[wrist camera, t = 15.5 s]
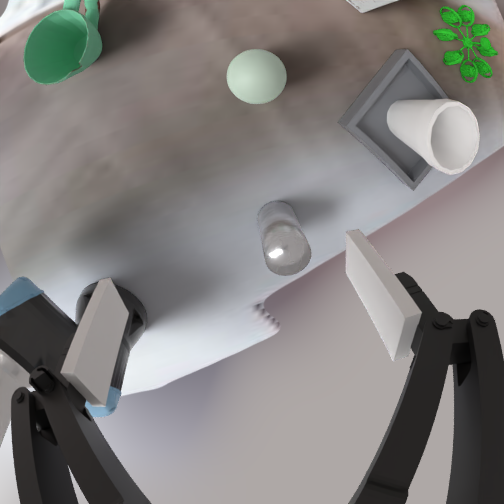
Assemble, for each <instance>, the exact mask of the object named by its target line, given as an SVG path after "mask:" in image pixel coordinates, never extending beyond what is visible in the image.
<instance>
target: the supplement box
mask: <svg viewBox="0 0 504 504" xmlns="http://www.w3.org/2000/svg"><path fill="white" fill-rule="evenodd" d="M346 1H347V2H349V3H350V4H351V5H352V6H354V7H355V8H356V9H357V10H358V11H360V12H361V13H365V12H367V11H370V10H373V9H375V8H378V7H381V6H384V5H386V4H389V3H392V2H395V1H398V0H346Z"/></svg>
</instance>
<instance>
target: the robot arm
mask: <svg viewBox="0 0 504 504" xmlns="http://www.w3.org/2000/svg"><path fill="white" fill-rule="evenodd" d="M346 274H347V276H348V278H349V280H350V281H351V283H352V285H353V287H354V288H355V290H356V292H357V294H358V296H359V297H360V299H361V301H362V303H363V305H364V306H365V308H366V310H367V311H368V314H369V316H370V318H371V320H372V321H373V323H374V325H375V327H376V329H377V331H378V333H379V335H380V337H381V338H382V340H383V342H384V344H385V346H386V348H387V350H388V352H389V354H390V356H391V358H392V360H393V361H396V360H399V359H402V358H405V357H407V356H408V355H409V352H410V349H412V351H413V352H414V354H415V355H414V358H413V361H412V363H411V366H410V371H409V373H408V376H407V380H406V383H405V385H404V388H403V391H402V394H401V396H400V399H399V402H398V404H397V407H396V409H395V412H394V415H393V417H392V419H391V422H390V424H389V426H388V429H387V431H386V433H385V435H384V438H383V440H382V442H381V444H380V447H379V449H378V451H377V453H376V455H375V457H374V459H373V461H372V463H371V465H370V467H369V469H368V471H367V472H366V475H365V476H364V478H363V480H362V482H361V484H360V485H359V487H358V489H357V491H356V492H355V494H354V496H353V497H352V499H351V500H350V502H349V503H348V504H405V503H406V500H407V497H408V489H409V486H410V484H411V481H412V479H413V477H414V475H415V472H416V470H417V467H418V465H419V462H420V460H421V457H422V455H423V452H424V449H425V447H426V444H427V441H428V438H429V435H430V432H431V429H432V426H433V423H434V420H435V416H436V413H437V410H438V406H439V403H440V399H441V395H442V391H443V387H444V383H445V379H446V374H447V370H448V365H452V364H453V376H454V377H453V378H454V439H453V454H452V465H451V475H450V482H449V490H448V496H447V501H446V504H504V359H503V354H502V349H501V344H500V340H499V336H498V331H497V327H496V323H495V320H494V318H493V316H492V315H491V314H490V313H489V312H487V311H485V310H475V311H473V312H472V313H471V315H470V317H469V319H457V320H455V319H453V318H452V317H450V316H449V315H448V314H446V313H444V312H438V311H437V309H436V308H435V307H434V305H433V304H432V303H431V301H430V300H429V298H428V297H427V296H426V294H425V293H424V292H422V289H421V288H420V287H419V286H418V284H417V283H416V282H415V280H414V279H413V278H412V277H411V276H409V275H408V274H406V273H405V272H402V273H398V274H394V273H393V272H392V271H391V269H390V268H389V266H388V265H387V264H386V263H385V261H384V260H383V259H382V258H381V256H380V255H379V254H378V252H377V251H376V250H375V248H374V247H373V246H372V245H371V244H370V242H369V241H368V240H367V238H366V237H365V236H364V235H363V234H362V232H361V231H360V230H359V229H357V230H352V231H347V232H346ZM146 322H147V315H146V311H145V309H144V307H143V305H142V304H141V302H140V301H139V300H138V299H137V298H136V297H135V296H134V295H133V294H131V293H130V292H129V291H127V290H125V289H123V288H121V287H119V286H116V285H114V284H113V282H112V280H111V278H106V279H101V280H99V282H98V283H95V284H92V285H89V286H87V287H86V288H85V289H84V290H83V291H82V293H81V295H80V297H79V299H78V301H77V304H76V317H75V322H74V321H73V320H72V319H71V318H69V317H68V316H67V315H66V314H65V313H64V312H63V311H62V310H61V309H60V308H59V307H58V306H57V305H56V304H55V303H54V302H53V301H52V300H51V299H50V298H49V297H48V296H47V295H46V294H45V293H44V291H43V290H40V289H39V288H38V287H37V286H36V285H35V284H34V283H33V282H32V281H31V280H30V279H28V278H27V277H19V278H17V279H16V280H15V281H14V282H13V283H12V284H11V285H10V286H9V287H8V288H7V289H6V290H5V291H4V292H3V293H2V294H1V295H0V446H1V444H2V441H3V438H4V436H5V433H6V430H7V428H8V425H9V423H10V421H11V430H12V445H13V458H14V467H15V475H16V481H17V488H18V493H19V499H20V504H78V501H77V497H76V494H75V490H74V487H73V484H72V480H71V476H70V472H69V468H70V470H71V472H72V474H73V476H74V478H75V480H76V481H77V483H78V485H79V487H80V489H81V491H82V492H83V494H84V496H85V498H86V499H87V501H88V503H89V504H151V503H150V501H149V500H148V499H147V498H146V496H145V495H144V494H143V493H142V492H141V490H140V489H139V487H138V486H137V485H136V483H135V482H134V481H133V480H132V478H131V477H130V476H129V474H128V473H127V471H126V470H125V469H124V467H123V465H122V464H121V463H120V461H119V460H118V459H117V457H116V455H115V454H114V452H113V451H112V449H111V448H110V446H109V444H108V443H107V441H106V440H105V438H104V436H103V435H102V433H101V431H100V430H99V428H98V426H97V424H96V423H95V421H94V419H93V417H104V416H108V415H110V414H112V413H113V412H114V411H115V410H116V407H117V404H118V401H119V398H120V396H121V388H122V384H123V379H124V375H125V370H126V366H127V362H128V357H129V353H130V350H131V349H132V348H133V346H134V345H135V344H136V342H137V341H138V340H139V338H140V337H141V336H142V334H143V332H144V330H145V326H146ZM31 387H33V388H34V389H35V390H36V391H33V392H30V391H29V390H28V389H27V388H31ZM68 466H69V468H68Z"/></svg>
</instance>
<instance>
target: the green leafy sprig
mask: <svg viewBox="0 0 504 504" xmlns="http://www.w3.org/2000/svg"><path fill="white" fill-rule="evenodd" d="M464 7H468V6H466V5H462V6H460V7H459V9H458V12H457V13H456V12H455V11H454V10H453V9H451V8H449V7H442V8H441V9H440V14H441V16H442V19H443V21H444V22H446V23H447V24H449V25H450V26H452V27H454V28H458V29H459V27H460V26H461V25H463V26H466V30H467V37H465V36H464V35H463V33H462V32H461V30H460V29H459V31H460V32H461V34H462V35H463V37H464V38H463V40H461V39H458V35H457V34H454V33H453V32H452V31H451V30H450V29H438V30H434V31H433V33H434V35H437V37H438V38H439V39H440V40H441V41H450V40H453V39H457V40H460V41H463V45H464V46H463V47H462V49H461V50H460V51H459V50H457V51H453V52H452V51H447V52H446V53H445V54H444V59H443V62H444V63H445V64H446V65H454V64H458V63H461V62H462V59H463V58H464V54H463V52H462V50H463V49H464V48H465V47H466V48H467V49H468V60H464V61H463V62H462V64H461V67H460V72H461V75H462V78H463V79H464V80H465V81H466V82H469V83H473V82H474V81H475V80H476V79H477V76H478V73H480V74H481V75H482V76H484V77H486V78H490V77H491V76H492V69H491V67H490V66H489V65H488V63H487V62H486V61H484V60H483V59H481V58H478V57H477V56H476V54H475V52H474V51H473V49H472V46H476V45H474V44H481V45H480V46H476V47H477V50H478V51H479V52H480V54H481V55H483V56H490V57H491V56H494V55H498V52H497V51H495V50H494V49H493V48H492V47H491V44H490V41H489V40H488V39H487V38H486V37H482V38H481V40H480V42H472V41H471V40H472V39H473V38H474V37H475V36H480V35H482V36H484V35H487V34H488V32H489V31H490V27H489V25H487V24H482V25H481V24H475V25H473V26H472V31H471V33H472V34H473V35H474V36H473V37H472V38H471V39H470V38H468V27H469V26H471V25H472V24H473V22H474V12H473V10H472V9H471V8H470V7H468V8H469V9H470V11H471V12H470V11H467V10H462V11H461V9H462V8H464ZM442 9H448V10H450V11H451V12H450V11H449V12H443V13H442ZM460 15H461V16H460ZM458 21H459V22H460V26H455V25H453V24H451V23H456V22H458ZM468 21H471V22H470V23H469V24H468V25H464V24H463V23H462V22H468ZM487 27H488V28H487ZM473 32H474V33H473ZM470 48H471V50H472V51H473V53H474V55H475V56H476V58H474V60H473V61H471V60H469V49H470ZM459 53H461V54H462V55H460V54H459ZM476 59H477V60H480V61H482V62H475V60H476ZM445 61H447V62H445ZM467 61H471V62H472V63H473V65H474V67H472V66H470V65H464V64H465V63H466V62H467ZM489 72H490V73H491V75H490V76H487V75H484V74H486V73H489ZM464 76H467V77H474V79H473V80H472V81H467V80H466V79H465V77H464Z"/></svg>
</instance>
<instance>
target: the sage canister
mask: <svg viewBox="0 0 504 504" xmlns="http://www.w3.org/2000/svg"><path fill="white" fill-rule="evenodd" d="M286 78H287V75H286V69H285V67H284V65H283V63H282V62H281V60H280V59H279V58H278V57H277V56H276V55H274V54H273V53H271V52H269V51H266V50H261V49H252V50H248V51H245V52H242V53H241V54H239V55H238V56H236V57H235V58H234V59H233V60H232V62H231V63H230V65H229V68H228V71H227V82H228V85H229V88H230V89H231V91H232V92H233V94H234V95H235V96H236V97H238V98H239V99H241V100H242V101H245V102H247V103H251V104H262V103H267V102H269V101H272V100H273V99H275V98H276V97H277V96H278V95H279V94H280V93H281V92H282V91H283V89H284V87H285V84H286Z"/></svg>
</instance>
